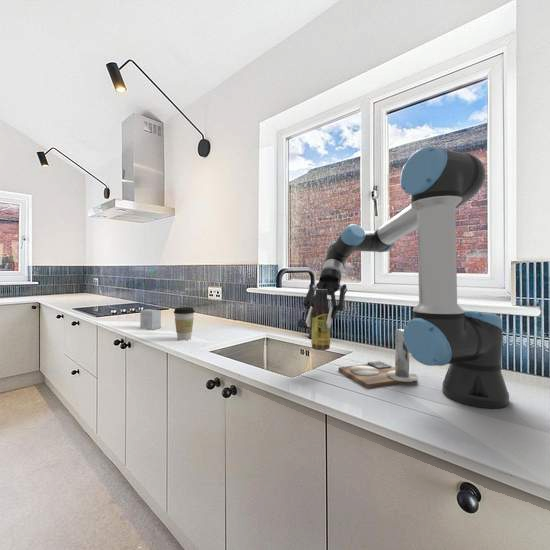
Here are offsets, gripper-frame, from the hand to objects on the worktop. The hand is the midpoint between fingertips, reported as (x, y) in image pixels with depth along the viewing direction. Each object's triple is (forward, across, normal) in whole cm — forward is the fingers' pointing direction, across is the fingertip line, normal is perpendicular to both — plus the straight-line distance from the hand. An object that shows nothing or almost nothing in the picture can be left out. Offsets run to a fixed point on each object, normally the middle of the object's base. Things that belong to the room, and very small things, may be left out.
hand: (317, 325), depth 100 cm
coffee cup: (-3, +74, -25) cm, 78 cm away
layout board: (+7, -18, -17) cm, 25 cm away
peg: (+6, -25, -16) cm, 30 cm away
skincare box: (-13, +111, -34) cm, 117 cm away
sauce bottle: (+4, 0, -9) cm, 9 cm away
